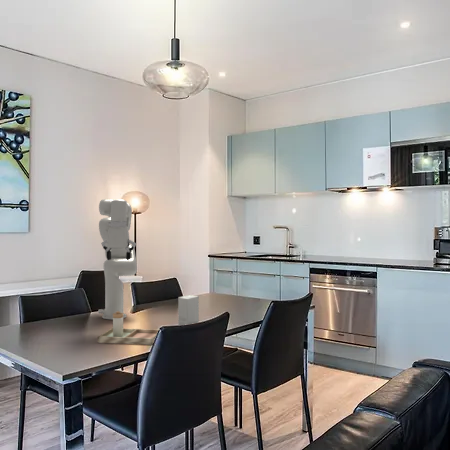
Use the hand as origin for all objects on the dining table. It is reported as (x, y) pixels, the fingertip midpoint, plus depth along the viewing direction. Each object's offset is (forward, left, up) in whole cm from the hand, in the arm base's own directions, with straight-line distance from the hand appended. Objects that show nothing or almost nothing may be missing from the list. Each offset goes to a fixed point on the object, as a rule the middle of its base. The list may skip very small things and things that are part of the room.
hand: (118, 259), depth 225 cm
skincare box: (+35, +1, -33) cm, 48 cm away
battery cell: (+8, -21, -32) cm, 39 cm away
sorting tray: (+14, -21, -33) cm, 42 cm away
